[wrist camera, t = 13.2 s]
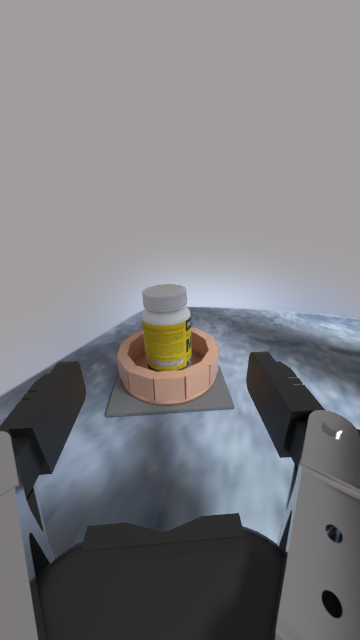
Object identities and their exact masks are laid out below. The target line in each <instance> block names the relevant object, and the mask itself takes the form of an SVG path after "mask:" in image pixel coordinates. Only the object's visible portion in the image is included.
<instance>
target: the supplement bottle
mask: <svg viewBox="0 0 360 640" xmlns="http://www.w3.org/2000/svg"><path fill="white" fill-rule="evenodd" d="M142 294H143V304H144V307H145V309H144V310H143V312H142V314H141V319H142V327H143V336H144V344H145V352H146V360H147V368H148V369H149V370H153V371H156V372H160V371H177V370H183V369H185V368H188V367H190V366H192V348H191V314H190V310H189V309H188V308H187V307H186V306H185V305H186V304H187V297H186V289H185V287H183V286H180V285H173V284H167V285H165V284H164V285H156V286H152V287H149V288H146V289H145V290H143V293H142Z"/></svg>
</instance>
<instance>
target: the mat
mask: <svg viewBox="0 0 360 640" xmlns="http://www.w3.org/2000/svg"><path fill="white" fill-rule="evenodd" d="M223 409H234V404H233V402H232V399H231V396H230V394H229V391H228V388H227V385H226V383H225V380H224V377H223V375H222V372H221V369H220V367H219V364H218V372H217V374H216V379H215V382H214V384H213V386H212V387H211V388H210V390H209V391H208V392H207V393H205V394H204V395H203V396H201V397H200V398H198V399H196V400H194V401H191V402H188V403H185V404H181V405H174V406H157V405H151V404H147V403H144V402H141V401H139V400H137V399H136V398H134V397H132V396H131V395H130V394H129V393H128V392H127V391H126V389H125V387H124V385H123V382H122V379H121V378H120V374H119V372H118V375H117V378H116V382H115V385H114V388H113V392H112V395H111V398H110V402H109V405H108V408H107V412H106V417H119V416H133V415H148V414H163V413H178V412H193V411H208V410H223Z"/></svg>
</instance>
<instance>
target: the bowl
mask: <svg viewBox="0 0 360 640" xmlns="http://www.w3.org/2000/svg"><path fill="white" fill-rule="evenodd" d="M191 348H192V366H190V367H188V368H185V369H183V370H177V371H160V372H156V371H153V370H149V369H148V368H147V360H146V352H145V344H144V336H143V330H140V331H137V332H135V333H134V334H132V335H131V336H130V337H128V338H127V339H125V340H124V341H123V342H122V343H121V344H120V347H119V350H118V353H117V363H118V368H119V374H120V378H121V379H122V382H123V385H124V387H125V389H126V391H127V392H128V393H129V394H130V395H131V396H132V397H134V398H136V399H137V400H139V401H141V402H144V403H147V404H151V405H157V406H174V405H181V404H185V403H188V402H191V401H194V400H196V399H198V398H200V397H201V396H203V395H204V394H205V393H207V392H208V391H209V390H210V388H211V387H212V386H213V384H214V382H215V379H216V374H217V372H218V363H219V349H218V346H217V344H216V341H215V339H214V338H213V337H212V336H210V335H209V334H207V333H205V332H204V331H202V330H200V329H198V328H193V327H191Z"/></svg>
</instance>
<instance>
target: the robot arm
mask: <svg viewBox="0 0 360 640" xmlns="http://www.w3.org/2000/svg"><path fill="white" fill-rule="evenodd" d="M246 382H247V388H248V391H249V394H250V396H251V398H252V400H253V402H254V404H255V406H256V408H257V410H258V412H259V414H260V417H261V419H262V421H263V423H264V425H265V427H266V429H267V431H268V433H269V435H270V437H271V439H272V441H273V444H274V446H275V448H276V450H277V452H278V454H279V456H280V458H282V457H291V458H292V459H293V461H294V463H295V464H294V467H293V472H292V477H291V482H290V487H289V492H288V497H287V502H286V507H285V512H284V517H283V521H282V525H281V529H280V533H279V537H278V542H277V544H276V543H274V542H273V541H272V540H270V539H269V538H267V537H266V536H264V535H262V534H260V533H259V532H257V531H254V530H252V529H249V528H247V527H243V526H242V524H241V520H240V516H239V513H235V514H223V515H212V516H202V517H200V518H197V519H195V520H193V521H191V522H188V523H186V524H184V525H181V526H179V527H177V528H174V529H172V530H170V531H167V532H159V531H155V530H151V529H147V528H143V527H139V526H136V525H132V524H128V523H119V524H107V525H96V526H87V530H86V534H85V538H84V541H83V542H80V543H78V544H76V545H75V546H73V547H71V548H69V549H68V550H67V551H65V552H64V553H62V554H61V555H60V556H58V557H57V558H56V559H55V556H54V553H53V551H52V548H51V545H50V542H49V539H48V536H47V532H46V528H45V524H44V519H43V515H42V511H41V507H40V503H39V499H38V494H37V490H36V487H35V485H34V484H35V482H36V480H37V478H38V476H39V475H42V474H52V472H53V470H54V468H55V465H56V463H57V461H58V459H59V456H60V454H61V452H62V450H63V448H64V445H65V443H66V441H67V439H68V436H69V434H70V432H71V430H72V427H73V425H74V423H75V421H76V418H77V416H78V414H79V412H80V409H81V407H82V405H83V403H84V400H85V395H86V389H85V384H84V380H83V377H82V373H81V369H80V365H79V363H78V362H77V361H69V362H59V363H57V365H56V366H55V367H54V369H53V370H52V371H51V373H50V374H45V375H44V376H43V377H41V378H40V379H39V380H37V381H36V382H35V383H34V384H33V385H32V387H31V388H30V389H29V390H28V393H26V394H25V395H24V397H23V398H22V401H20V402H19V403H18V404H17V405H16V407H15V408H14V409H13V410H12V412H11V413H10V414H9V415H8V417H7V418H6V419H5V420H4V422H3V423H2V424H1V425H0V640H360V430H359V429H356V428H355V427H354V426H353V424H352V423H350V422H349V421H348V420H347V419H345V418H344V417H342V416H340V415H338V414H336V413H334V412H330V411H326V410H325V409H324V408H323V407H322V406H321V404H320V403H319V402H318V401H317V400H316V398H315V397H314V396H313V395H312V394H311V392H310V391H309V390H308V389H307V388H306V386H305V385H303V383H302V382H301V381H300V379H299V378H297V376H296V375H295V373H294V372H293V371H292V370H291V369H290V368H289V367H288V366H286V365H285V364H283V363H282V362H276V361H275V360H274V359H273V357H272V356H271V355H270V353H269V352H251V353H250V356H249V363H248V371H247V379H246Z"/></svg>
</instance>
